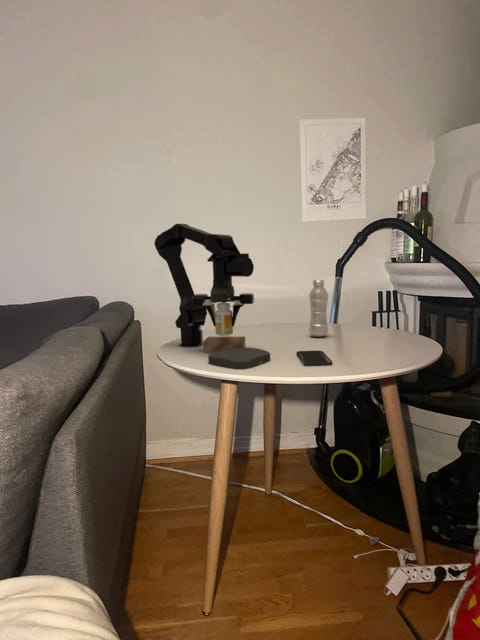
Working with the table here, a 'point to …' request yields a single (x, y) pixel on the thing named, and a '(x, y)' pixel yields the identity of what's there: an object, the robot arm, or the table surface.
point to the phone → (313, 358)
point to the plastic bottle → (318, 309)
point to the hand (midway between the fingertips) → (224, 326)
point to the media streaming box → (239, 357)
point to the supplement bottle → (223, 320)
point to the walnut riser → (223, 343)
